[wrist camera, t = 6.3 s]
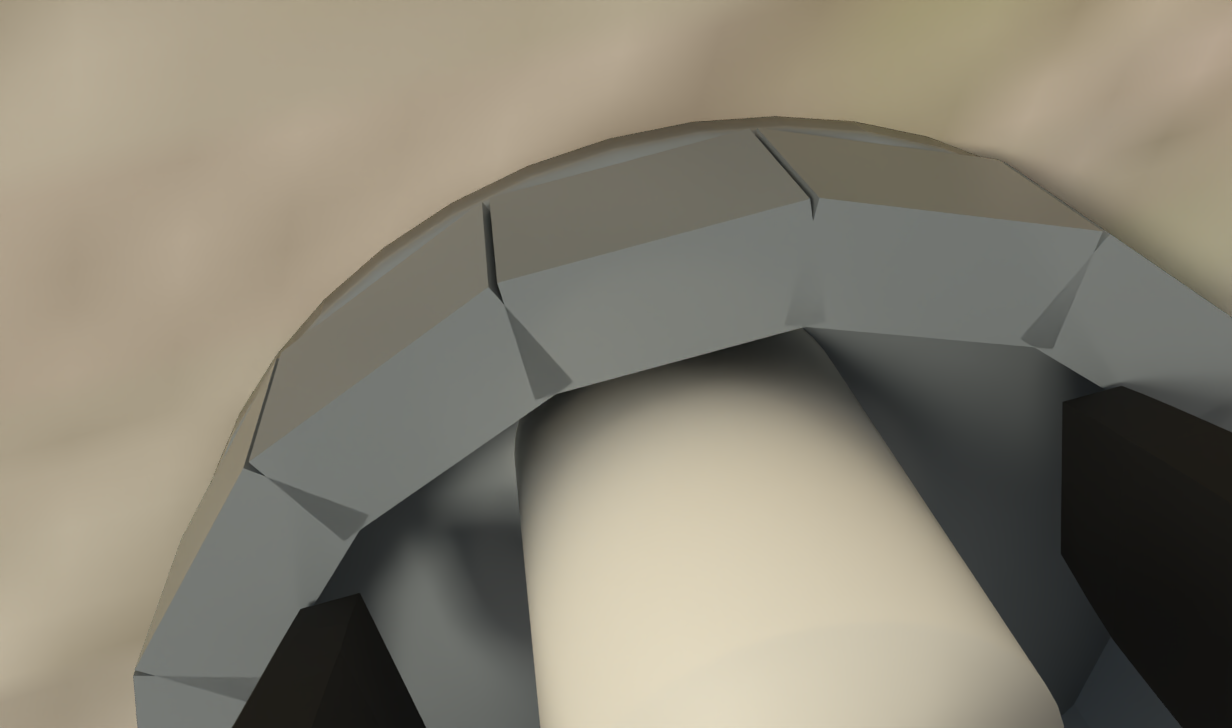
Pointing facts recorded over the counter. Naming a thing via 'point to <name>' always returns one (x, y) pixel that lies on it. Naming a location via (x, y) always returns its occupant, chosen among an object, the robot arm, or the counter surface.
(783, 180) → the groove tray
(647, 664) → the bead cream
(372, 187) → the counter surface
